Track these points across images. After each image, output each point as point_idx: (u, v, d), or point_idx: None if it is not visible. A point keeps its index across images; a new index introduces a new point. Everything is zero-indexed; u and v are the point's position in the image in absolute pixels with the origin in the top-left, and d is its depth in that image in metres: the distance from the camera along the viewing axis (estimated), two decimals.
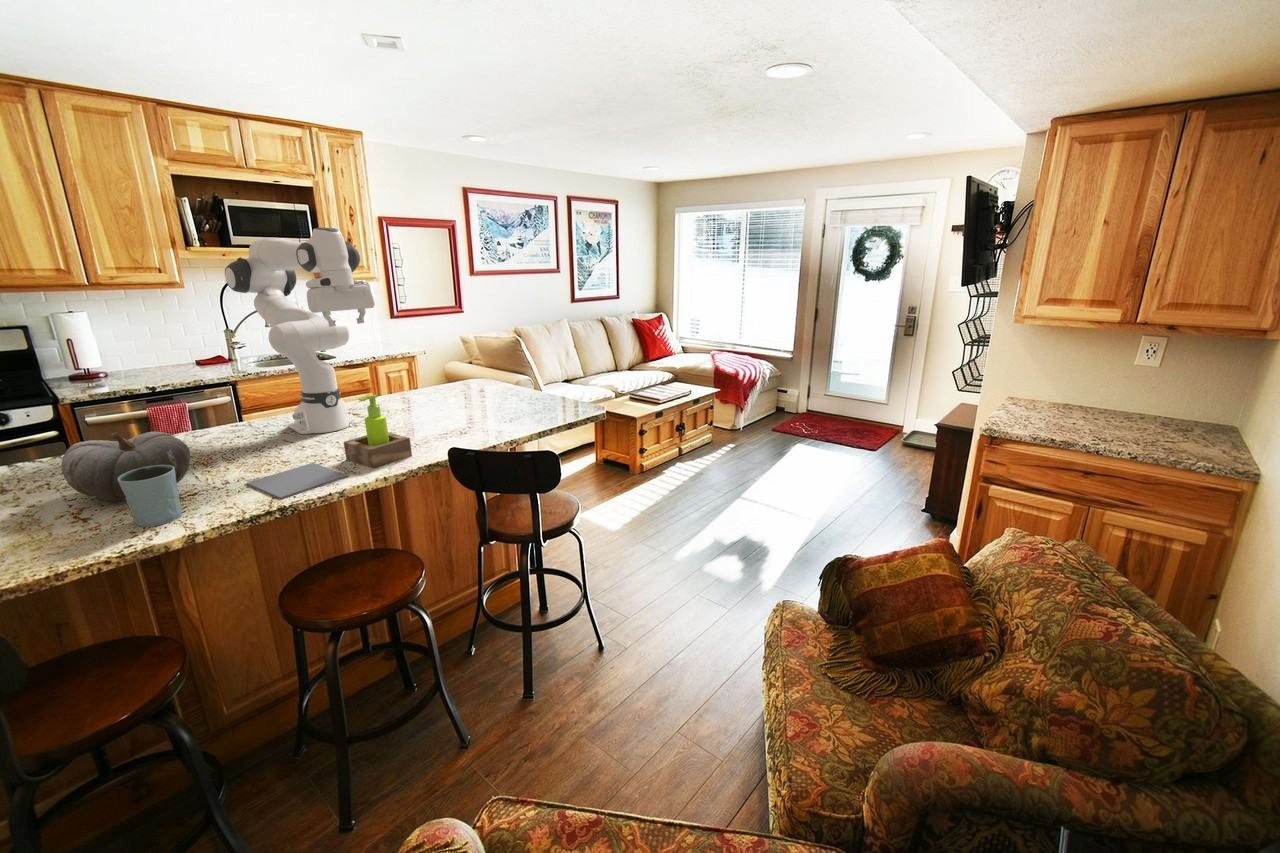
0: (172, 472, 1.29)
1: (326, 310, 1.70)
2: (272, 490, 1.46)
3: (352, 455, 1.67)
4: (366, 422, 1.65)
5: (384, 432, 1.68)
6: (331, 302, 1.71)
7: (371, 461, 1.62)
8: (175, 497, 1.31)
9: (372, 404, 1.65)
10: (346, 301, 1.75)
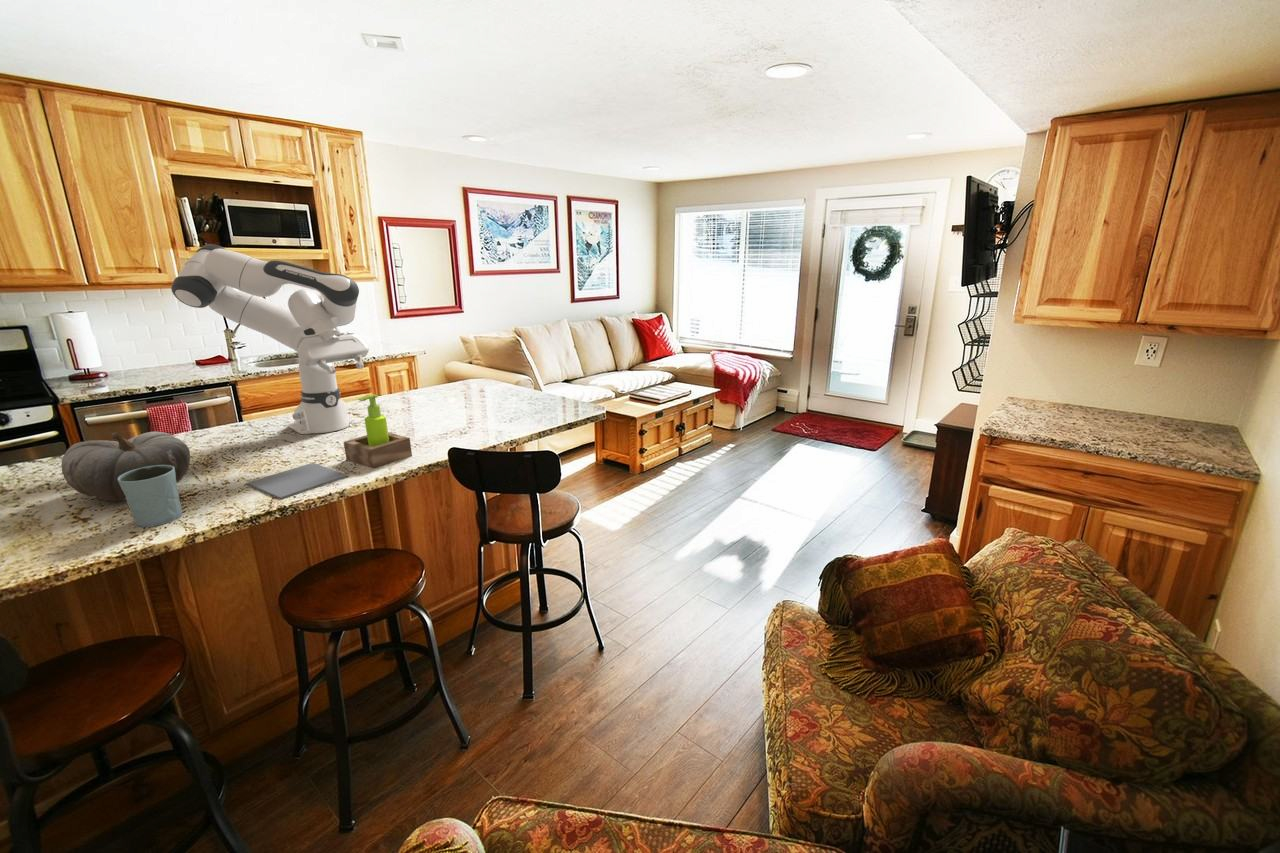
0: (172, 472, 1.29)
1: (320, 357, 1.64)
2: (272, 490, 1.46)
3: (352, 455, 1.67)
4: (366, 422, 1.65)
5: (384, 432, 1.68)
6: (322, 350, 1.66)
7: (371, 461, 1.62)
8: (175, 497, 1.31)
9: (372, 404, 1.65)
10: (338, 348, 1.70)
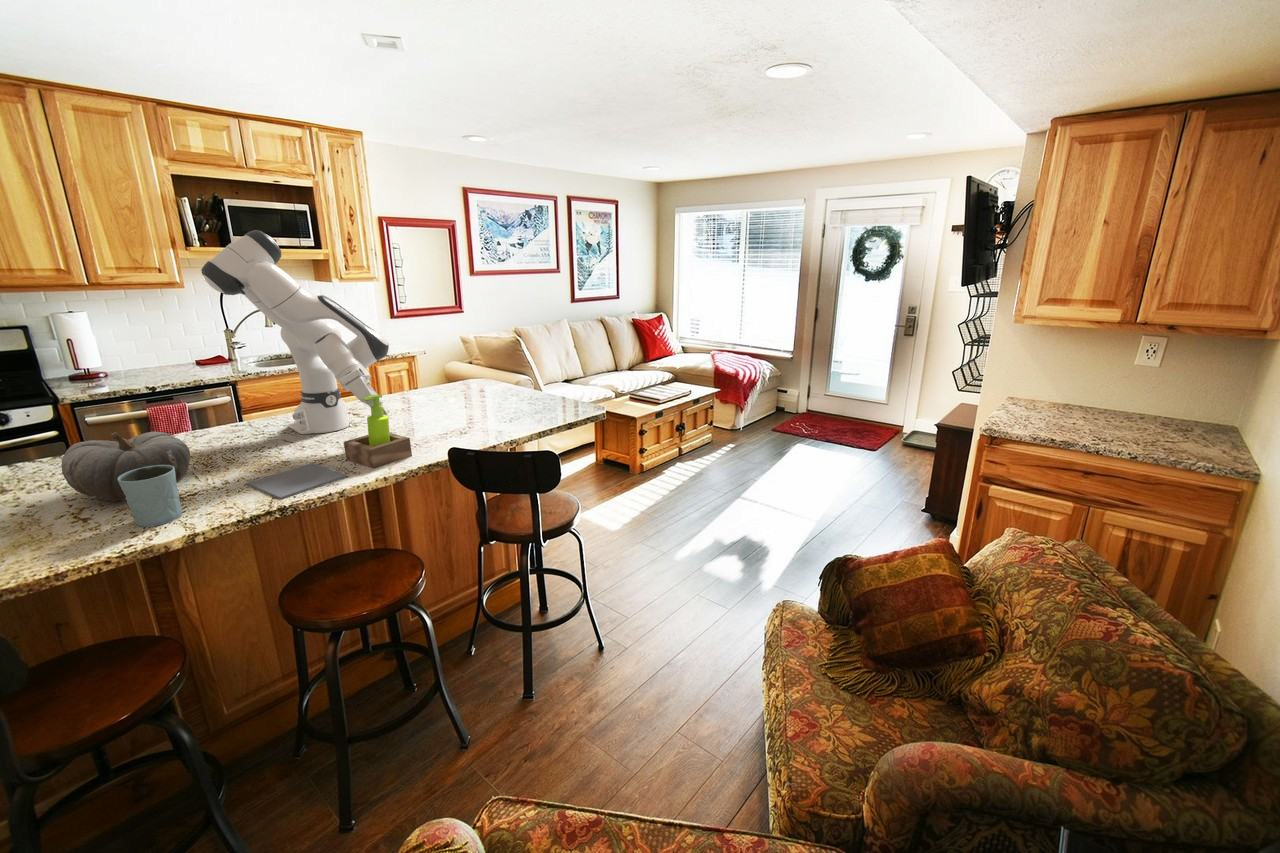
0: (172, 472, 1.29)
1: None
2: (272, 490, 1.46)
3: (352, 455, 1.67)
4: (369, 422, 1.65)
5: (386, 433, 1.68)
6: (370, 391, 1.70)
7: (371, 461, 1.62)
8: (175, 497, 1.31)
9: (376, 404, 1.65)
10: (373, 393, 1.75)
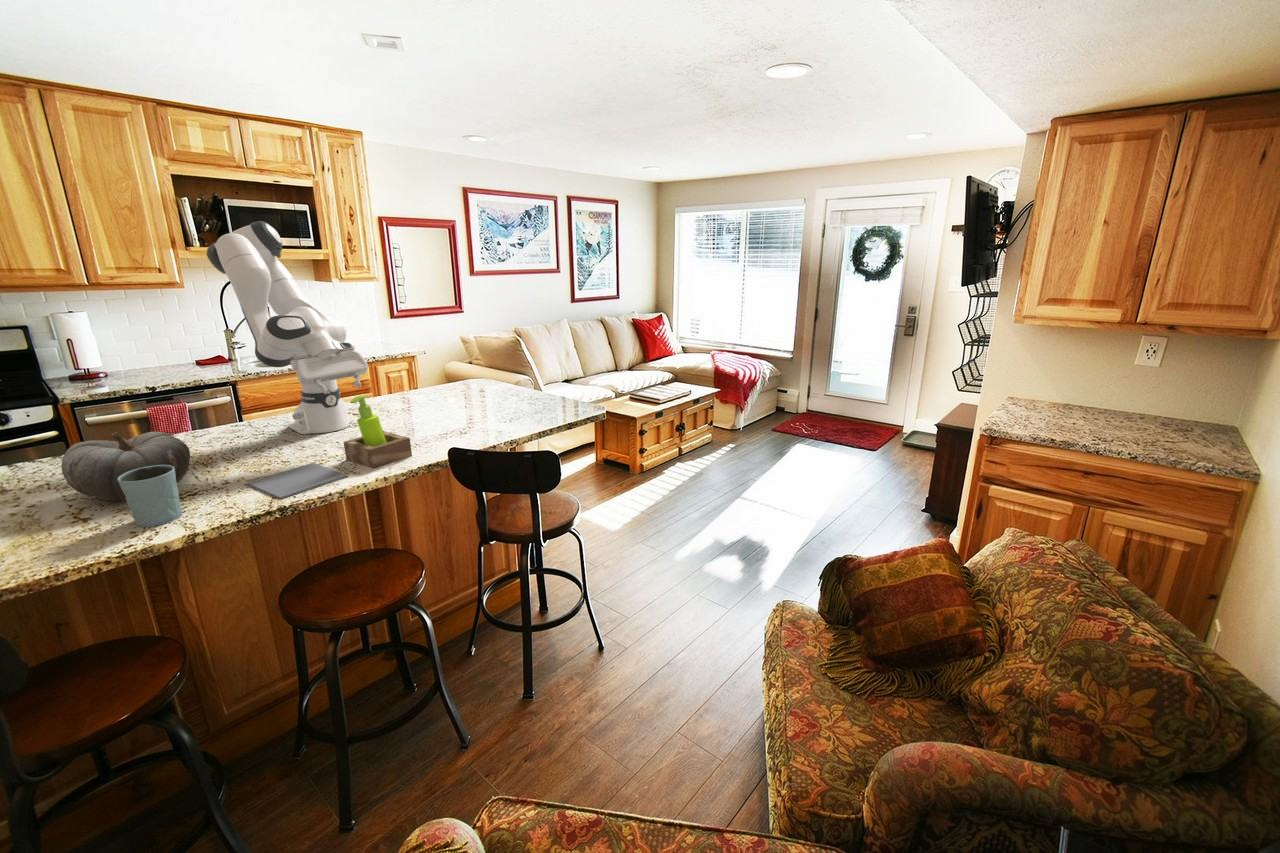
0: (172, 472, 1.29)
1: None
2: (272, 490, 1.46)
3: (352, 455, 1.67)
4: (361, 424, 1.64)
5: (380, 430, 1.67)
6: None
7: (371, 461, 1.62)
8: (175, 497, 1.31)
9: (363, 404, 1.64)
10: None
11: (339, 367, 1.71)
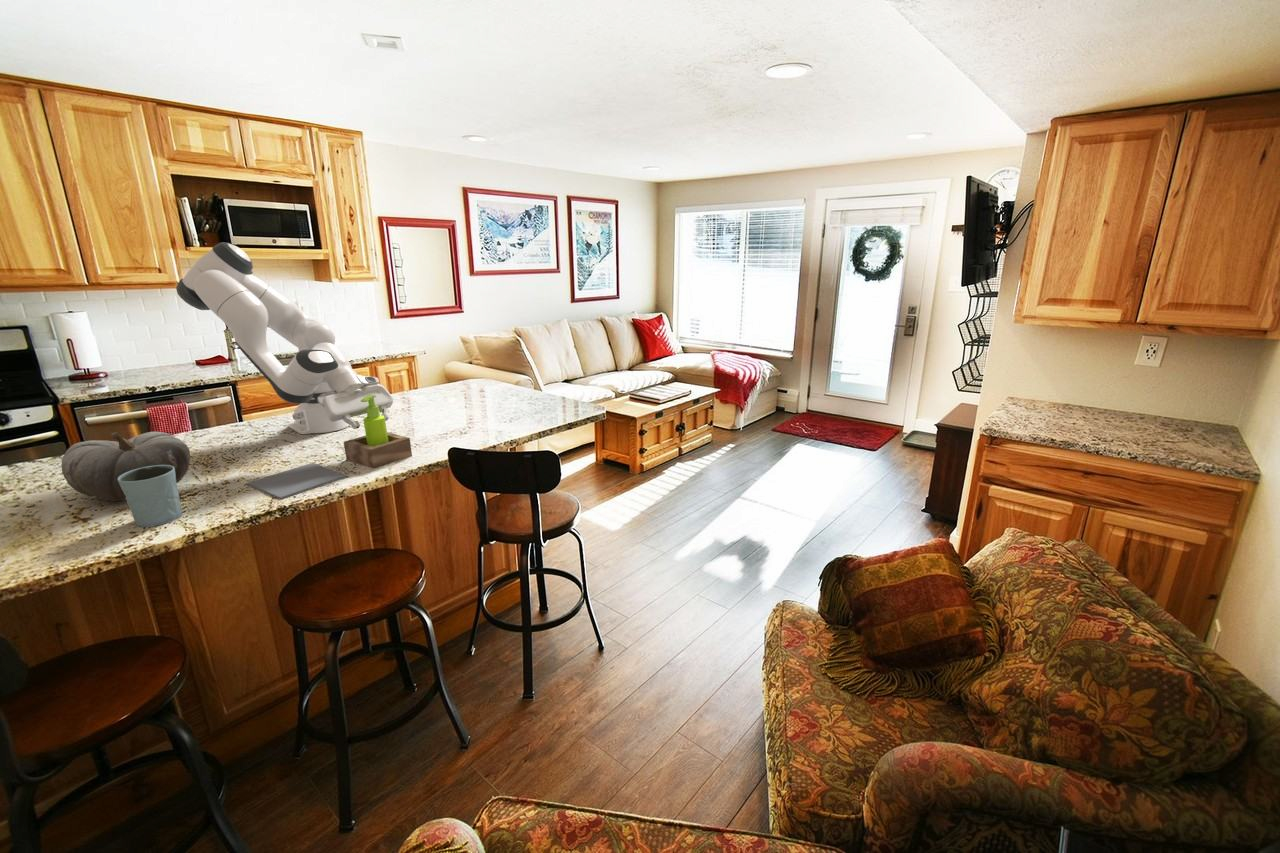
0: (172, 472, 1.29)
1: None
2: (272, 490, 1.46)
3: (352, 455, 1.67)
4: (368, 423, 1.64)
5: (385, 432, 1.68)
6: None
7: (371, 461, 1.62)
8: (175, 497, 1.31)
9: (372, 404, 1.65)
10: None
11: None
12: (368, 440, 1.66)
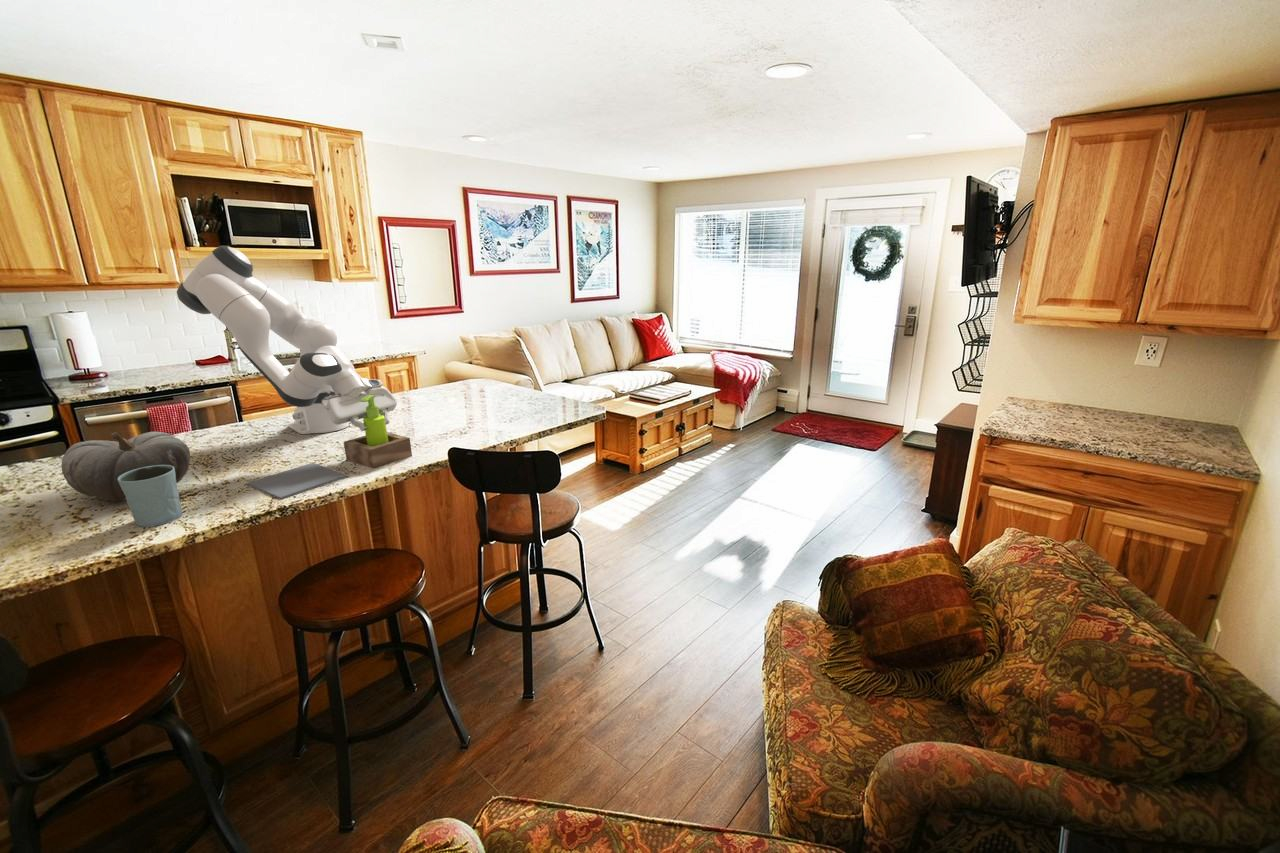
0: (172, 472, 1.29)
1: None
2: (272, 490, 1.46)
3: (352, 455, 1.67)
4: (368, 423, 1.64)
5: (385, 431, 1.68)
6: None
7: (371, 461, 1.62)
8: (175, 497, 1.31)
9: (372, 404, 1.65)
10: None
11: None
12: (368, 440, 1.66)
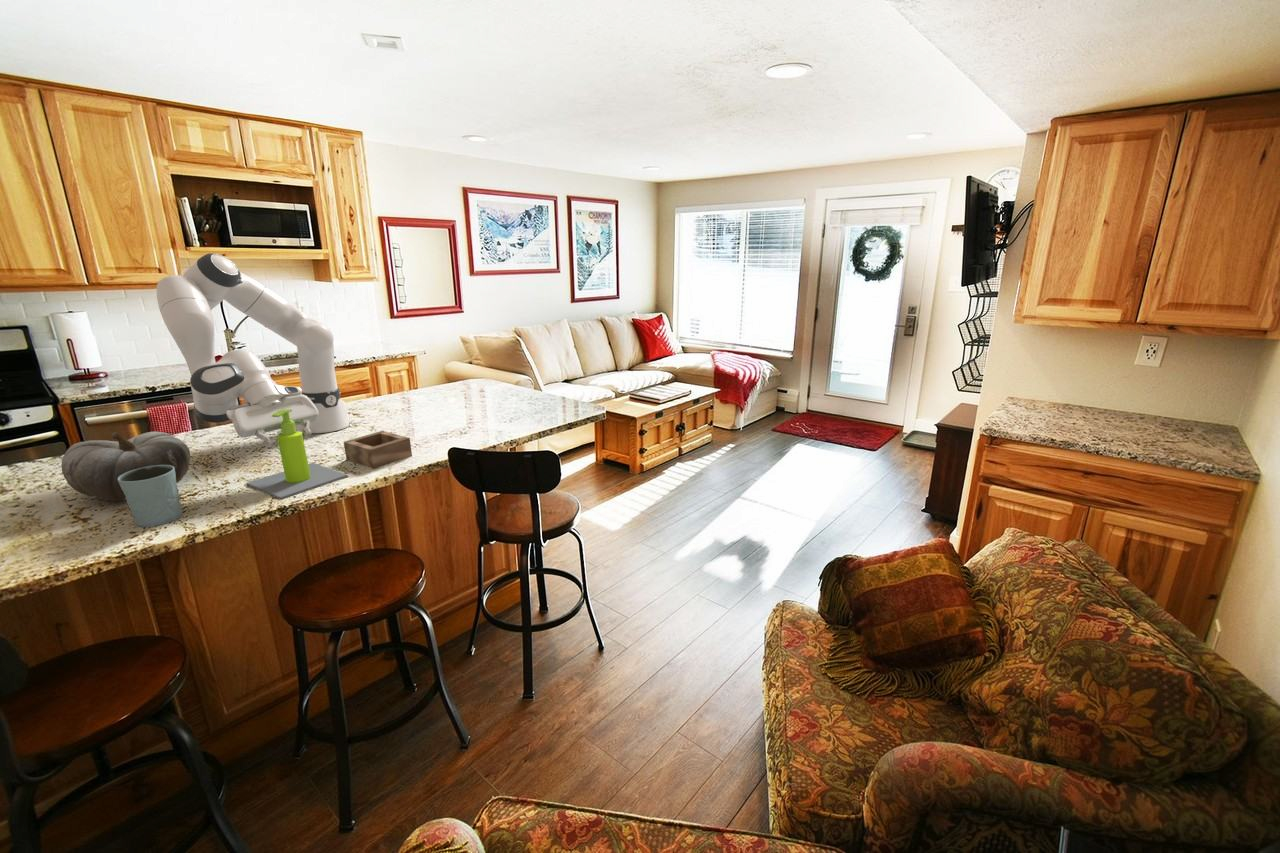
0: (172, 472, 1.29)
1: None
2: (272, 490, 1.46)
3: (352, 455, 1.67)
4: (281, 440, 1.47)
5: (303, 450, 1.51)
6: None
7: (371, 461, 1.62)
8: (175, 497, 1.31)
9: (286, 420, 1.48)
10: None
11: None
12: (282, 459, 1.49)
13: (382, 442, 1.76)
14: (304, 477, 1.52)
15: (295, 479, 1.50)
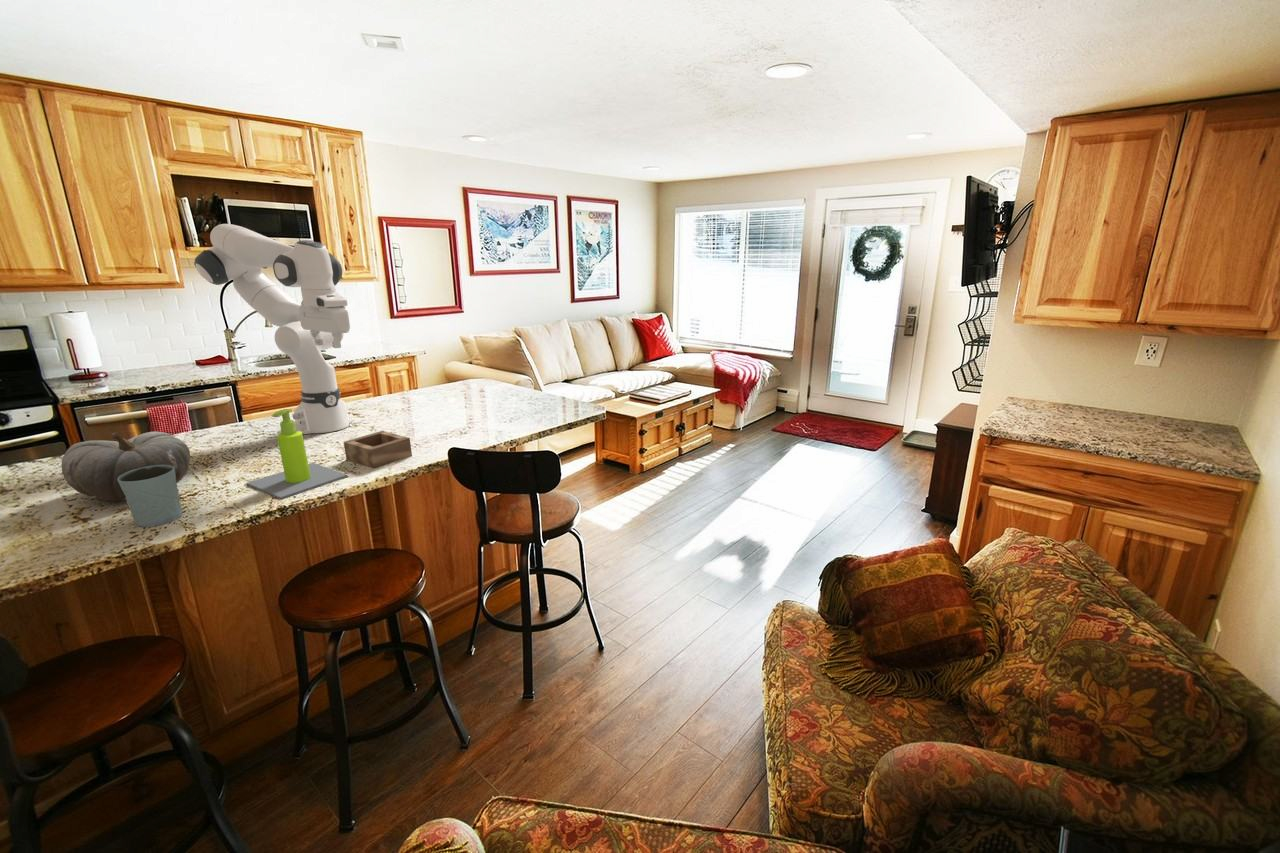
0: (172, 472, 1.29)
1: None
2: (272, 490, 1.46)
3: (352, 455, 1.67)
4: (281, 440, 1.47)
5: (303, 450, 1.51)
6: None
7: (371, 461, 1.62)
8: (175, 497, 1.31)
9: (286, 420, 1.48)
10: None
11: (320, 324, 1.61)
12: (282, 459, 1.49)
13: (382, 442, 1.76)
14: (304, 477, 1.52)
15: (295, 479, 1.50)
